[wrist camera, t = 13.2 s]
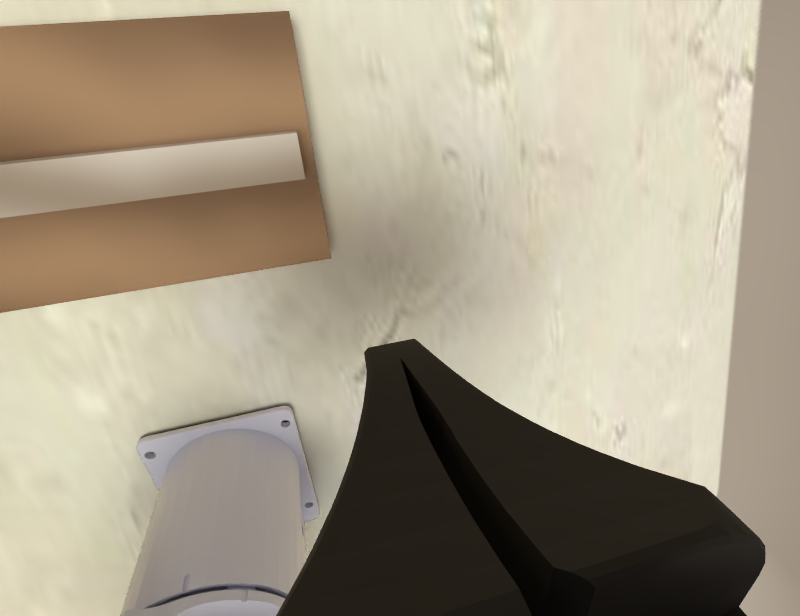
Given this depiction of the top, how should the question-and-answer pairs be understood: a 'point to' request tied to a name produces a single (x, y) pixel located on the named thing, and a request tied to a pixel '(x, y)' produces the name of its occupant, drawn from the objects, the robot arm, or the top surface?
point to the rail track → (152, 155)
